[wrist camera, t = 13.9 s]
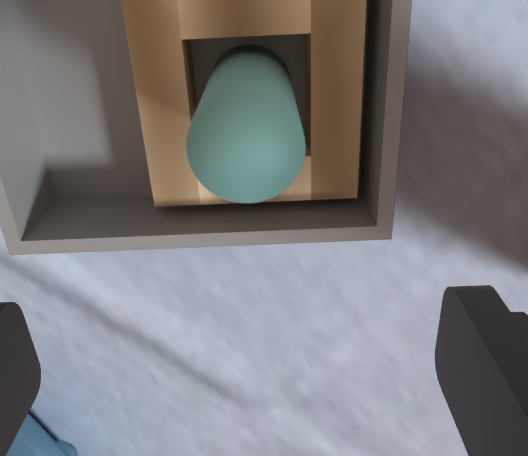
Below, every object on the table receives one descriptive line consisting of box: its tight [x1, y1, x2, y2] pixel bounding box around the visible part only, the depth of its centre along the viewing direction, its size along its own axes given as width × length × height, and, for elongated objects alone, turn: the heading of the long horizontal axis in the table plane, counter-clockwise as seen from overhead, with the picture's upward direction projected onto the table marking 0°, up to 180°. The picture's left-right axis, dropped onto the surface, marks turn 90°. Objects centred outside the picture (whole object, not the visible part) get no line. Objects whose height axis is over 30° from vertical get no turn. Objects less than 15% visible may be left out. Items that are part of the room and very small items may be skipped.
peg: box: [186, 44, 306, 203], centre depth 23 cm, size 4×4×10 cm
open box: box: [0, 0, 412, 255], centre depth 24 cm, size 20×20×6 cm
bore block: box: [121, 0, 367, 207], centre depth 26 cm, size 11×11×3 cm
